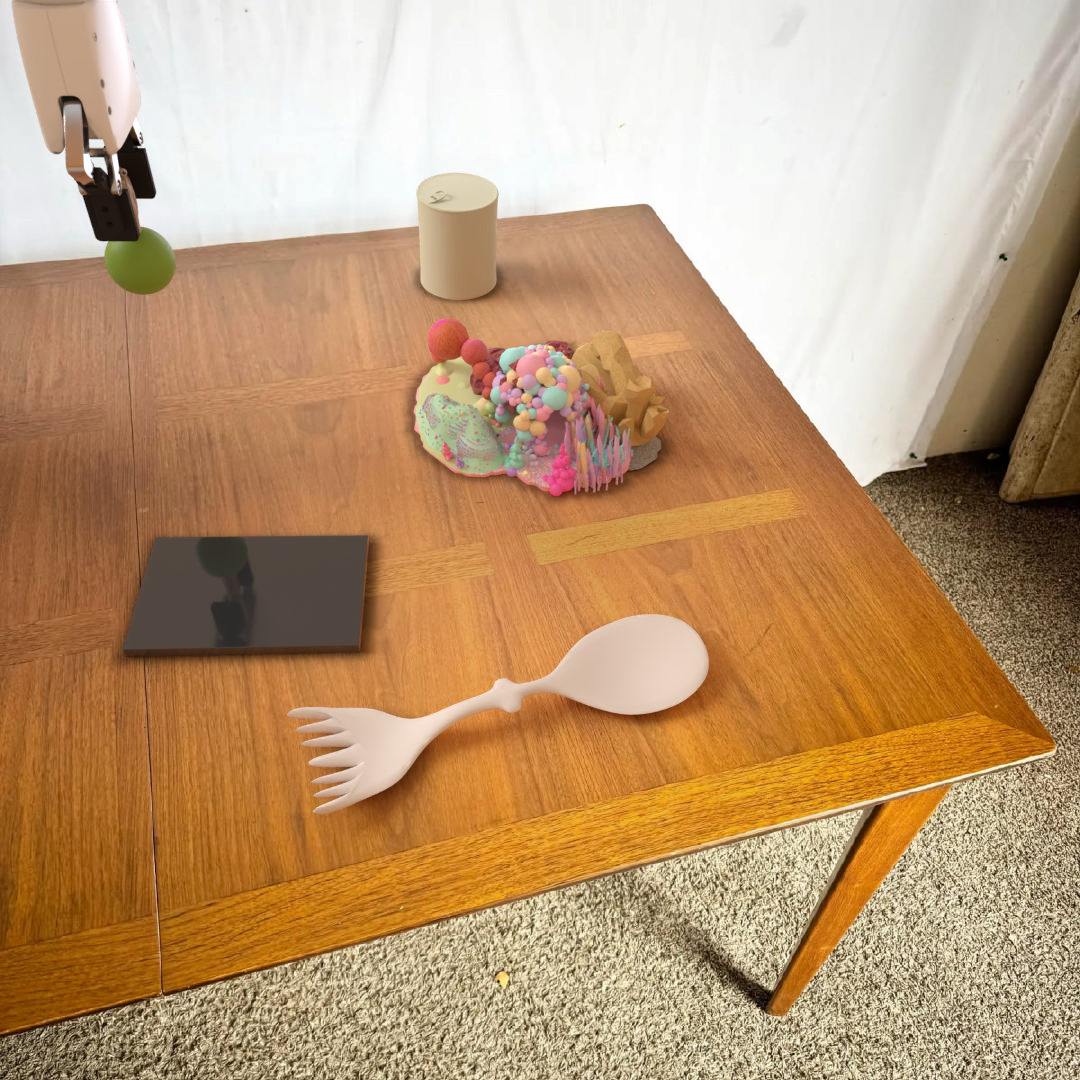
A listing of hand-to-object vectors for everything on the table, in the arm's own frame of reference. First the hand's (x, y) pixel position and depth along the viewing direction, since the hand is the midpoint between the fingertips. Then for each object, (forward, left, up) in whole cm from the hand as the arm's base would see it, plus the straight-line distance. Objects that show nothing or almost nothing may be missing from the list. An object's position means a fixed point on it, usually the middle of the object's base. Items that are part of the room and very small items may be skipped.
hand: (127, 215), depth 76 cm
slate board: (+9, -20, -23) cm, 32 cm away
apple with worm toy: (0, 0, -7) cm, 7 cm away
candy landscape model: (+34, +3, -24) cm, 41 cm away
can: (+26, +29, -24) cm, 45 cm away
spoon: (+30, -32, -24) cm, 50 cm away
